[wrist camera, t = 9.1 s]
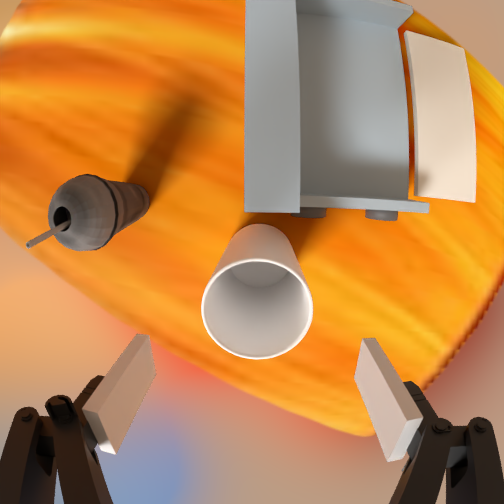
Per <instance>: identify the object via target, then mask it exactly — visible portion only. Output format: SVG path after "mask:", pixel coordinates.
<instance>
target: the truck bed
mask: <svg viewBox="0 0 504 504" xmlns="http://www.w3.org/2000/svg"><path fill="white" fill-rule="evenodd" d="M413 13H414V12H413V8H412V6H410V5H407V4H403V3H400V2H396V1H392V0H246V23H245V166H244V212H280V213H291V216H295V217H303V218H323V217H326V208H350V209H366V214H365V217H366V218H370V219H376V220H385V221H396V220H397V218H398V211H405V212H419V213H429V203H425V202H420V201H415V200H410V199H408V184H409V134H408V113H407V98H406V87H405V77H404V69H403V61H402V54H401V47H400V41H399V35H398V30H397V29H398V28H399V27H400V26H401V25H402V24H403V23H404V22H405V21H406V20H407V19H408V18H409V17H410V16H411V15H412V14H413Z"/></svg>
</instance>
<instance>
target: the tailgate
mask: <svg viewBox="0 0 504 504" xmlns="http://www.w3.org/2000/svg"><path fill="white" fill-rule="evenodd" d="M404 38H405V44H406V50H407V57H408V64H409V72H410V80H411V90H412V101H413V116H414V139H415V181H414V196H423V197H432V198H441V199H450V200H458V201H466V202H474V203H475V195H476V137H475V122H474V110H473V101H472V93H471V86H470V79H469V73H468V67H467V62H466V57H465V52H464V48H461V47H458V46H455V45H453V44H450V43H447V42H444V41H441V40H438V39H435V38H432V37H428V36H425V35H421V34H418V33H414V32H410V31H407V30H406V32H405V33H404Z"/></svg>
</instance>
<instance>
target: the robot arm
mask: <svg viewBox="0 0 504 504" xmlns="http://www.w3.org/2000/svg"><path fill="white" fill-rule="evenodd" d="M155 376H156V371H155V365H154V360H153V355H152V349H151V343H150V337H149V335H143V334H136V336H135V337H134V338H133V340H132V341H131V342H130V344H129V345H128V346H127V348H126V349H125V350H124V352H123V353H122V354H121V355H120V357H119V358H118V360H117V361H116V362H115V364H114V365H113V366H112V368H111V369H110V370H109V372H108V373H107V374H106V376H99V375H98V376H96V377H95V378H93V379H92V380H90V382H89V383H88V384H87V386H86V388H84V390H83V391H82V393H80V395H79V396H78V397H77V399H76V400H75V401H74V403H72V401H71V399H70V398H69V397H68V396H65V395H57V396H53V397H51V398H50V399H48V401H47V402H46V404H45V408H46V410H47V412H48V414H49V416H50V417H49V416H39V414H38V412H37V410H36V409H34V408H32V407H24V408H21V409H20V410H18V411H17V413H16V414H15V417H14V419H13V422H12V425H11V428H10V431H9V434H8V437H7V440H6V443H5V446H4V449H3V453H2V456H1V460H0V504H54V496H55V484H56V475H57V469H58V475H59V481H60V486H61V491H62V496H63V500H64V504H113V502H112V499H111V496H110V494H109V491H108V488H107V485H106V482H105V479H104V476H103V473H102V470H101V466H100V463H99V460H98V456H97V453H96V451H95V449H94V448H95V447H96V445H97V443H98V445H99V447H100V449H101V450H102V451H105V452H108V453H112V454H117V452H118V450H119V448H120V445H121V443H122V441H123V439H124V437H125V435H126V433H127V431H128V429H129V427H130V425H131V423H132V421H133V419H134V417H135V415H136V413H137V411H138V409H139V407H140V405H141V403H142V401H143V399H144V397H145V395H146V393H147V391H148V389H149V387H150V385H151V383H152V381H153V379H154V377H155ZM354 379H355V381H356V384H357V386H358V388H359V391H360V393H361V396H362V398H363V401H364V403H365V406H366V408H367V411H368V413H369V416H370V418H371V421H372V423H373V426H374V429H375V431H376V434H377V436H378V439H379V441H380V444H381V447H382V450H383V452H384V455H385V457H386V460H387V462H389V461H394V460H399V459H402V458H403V457H404V455H405V453H406V451H407V452H408V454H409V459H408V461H407V463H406V465H405V466H404V468H403V469H402V471H403V473H402V476H401V478H400V480H399V483H398V485H397V487H396V490H395V492H394V494H393V496H392V498H391V500H390V503H389V504H435V503H436V500H437V497H438V494H439V491H440V487H441V483H442V480H443V476H444V473H445V469H446V504H504V479H503V473H502V467H501V461H500V456H499V452H498V447H497V443H496V438H495V434H494V430H493V426H492V424H491V422H489V421H488V420H487V419H485V418H481V417H476V418H473V419H471V420H470V422H469V424H468V425H467V426H453V425H452V424H451V422H449V421H448V420H446V419H443V418H438V416H437V415H436V413H435V411H434V410H433V408H432V407H431V405H430V403H429V402H428V400H426V398H425V396H424V394H423V393H422V391H421V390H420V388H419V386H417V385H416V384H414V383H413V382H412V381H408V382H402V380H401V379H400V377H399V375H398V374H397V372H396V371H395V369H394V367H393V366H392V364H391V362H390V361H389V359H388V358H387V356H386V355H385V353H384V351H383V350H382V348H381V347H380V345H379V344H378V342H377V340H376V339H375V338H365V339H362V343H361V348H360V353H359V358H358V363H357V368H356V372H355V377H354Z"/></svg>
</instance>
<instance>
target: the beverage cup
mask: <svg viewBox="0 0 504 504" xmlns="http://www.w3.org/2000/svg"><path fill="white" fill-rule="evenodd" d="M149 203H150V202H149V196H148V193H147V192H146V190H145V189H144V188H143V187H141V186H139V185H135V184H131V183H125V182H117V181H109V180H105V179H103V178H100V177H98V176H96V175H91V174H84V175H80V176H77V177H75V178H72V179H70V180H68V181H67V182H66V183H64V184H63V185H61V186H60V187H59V188H58V190H57V191H56V193H55V194H54V195H53V197H52V200H51V202H50V205H49V211H48V220H49V226H50V228H51V230H49V231H47V232H45V233H43V234H41V235H39V236H38V237H36V238H34V239H32V240H30V241H28V242H27V243H26V247H27V248H28V249H29V248H31V247H33V246H34V245H36V244H38V243H40V242H41V241H43V240H45V239H47V238H48V237H50V236H52V235H54V236H55V237H56V239H57V240H58V241H59V242H60V243H61V244H62V245H64V246H65V247H67V248H69V249H72V250H76V251H89V250H97V249H99V248H101V247H103V246H105V245H106V244H107V243H108V242H109V241H110V239H111V238H112V237H113V236H114V235H115V234H116V233H118V232H120V231H121V230H123V229H124V228H126V227H127V226H129V225H131V224H132V223H134V222H136V221H137V220H139V219H140V218H141V217H143V216H144V215H145V214H146V212H147V210H148V208H149Z"/></svg>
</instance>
